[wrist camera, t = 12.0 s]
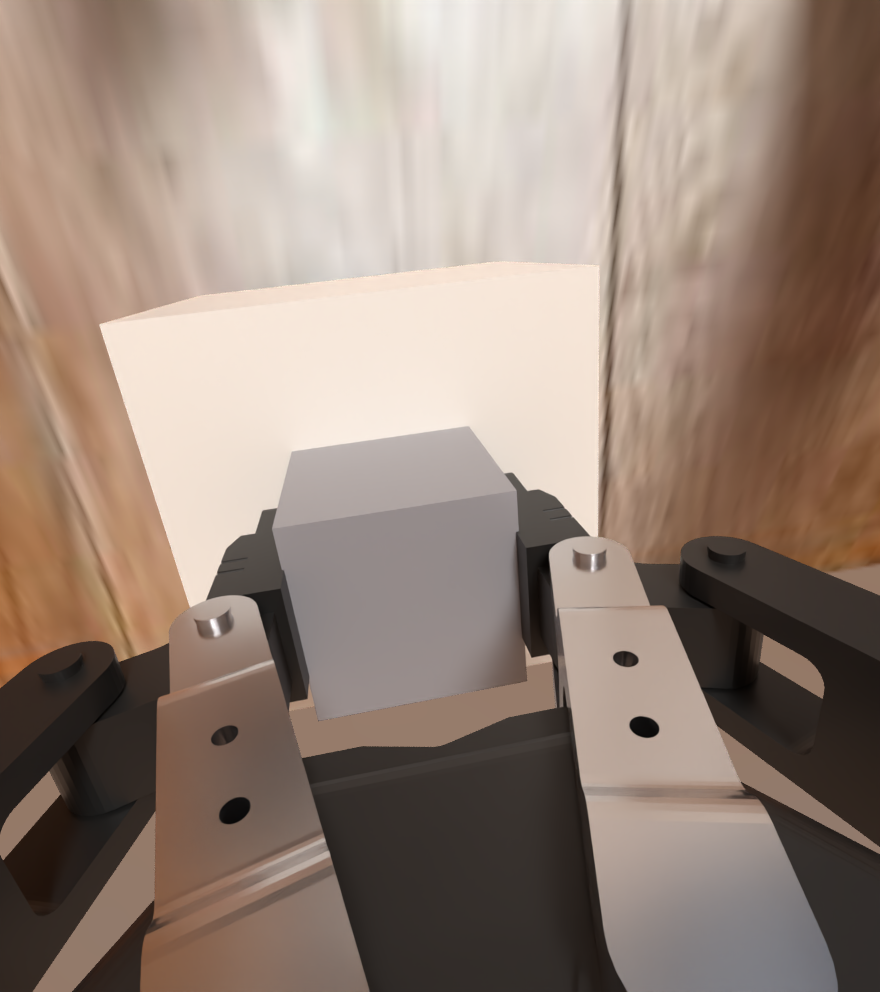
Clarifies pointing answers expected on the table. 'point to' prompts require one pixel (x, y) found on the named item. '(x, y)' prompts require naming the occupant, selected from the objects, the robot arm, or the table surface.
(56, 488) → the table surface
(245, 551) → the robot arm
